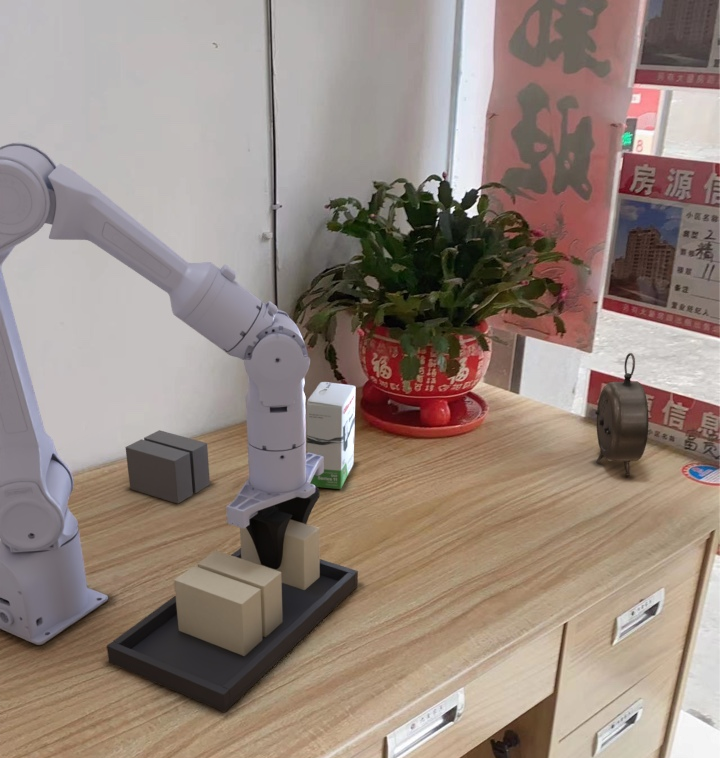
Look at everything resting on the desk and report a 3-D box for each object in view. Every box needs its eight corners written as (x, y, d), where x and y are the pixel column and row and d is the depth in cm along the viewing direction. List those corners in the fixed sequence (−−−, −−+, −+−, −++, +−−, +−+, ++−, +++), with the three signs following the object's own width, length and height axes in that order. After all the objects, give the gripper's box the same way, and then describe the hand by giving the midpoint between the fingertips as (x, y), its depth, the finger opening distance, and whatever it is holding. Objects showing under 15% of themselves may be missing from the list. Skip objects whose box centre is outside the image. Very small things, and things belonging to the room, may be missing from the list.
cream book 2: (265, 637, 86) (263, 586, 83) (200, 613, 90) (196, 563, 87) (282, 622, 89) (281, 571, 86) (219, 599, 92) (215, 549, 89)
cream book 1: (244, 656, 84) (241, 604, 81) (178, 630, 87) (173, 579, 84) (262, 640, 86) (260, 588, 83) (197, 615, 89) (193, 565, 86)
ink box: (341, 490, 116) (342, 405, 110) (305, 486, 116) (304, 402, 111) (355, 463, 123) (356, 382, 118) (320, 459, 124) (320, 379, 118)
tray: (224, 712, 77) (223, 694, 76) (108, 662, 83) (106, 645, 82) (357, 586, 96) (358, 570, 95) (254, 552, 101) (254, 537, 100)
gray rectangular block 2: (195, 493, 114) (192, 451, 111) (148, 479, 117) (143, 437, 115) (210, 484, 116) (207, 443, 114) (163, 470, 120) (159, 430, 117)
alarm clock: (641, 481, 120) (663, 367, 112) (601, 480, 120) (621, 366, 112) (621, 448, 130) (640, 341, 122) (585, 447, 130) (601, 340, 122)
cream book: (304, 590, 91) (304, 540, 88) (241, 569, 94) (239, 520, 91) (320, 577, 93) (319, 527, 90) (257, 556, 97) (255, 508, 94)
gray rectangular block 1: (178, 504, 111) (174, 461, 109) (129, 489, 115) (125, 446, 112) (193, 494, 114) (189, 452, 111) (145, 480, 117) (141, 438, 114)
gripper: (268, 476, 79) (272, 602, 86) (349, 423, 90) (347, 538, 97) (205, 459, 82) (214, 581, 89) (291, 410, 93) (293, 522, 100)
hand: (279, 558), depth 93 cm, fingers closed on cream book, 3 cm apart
